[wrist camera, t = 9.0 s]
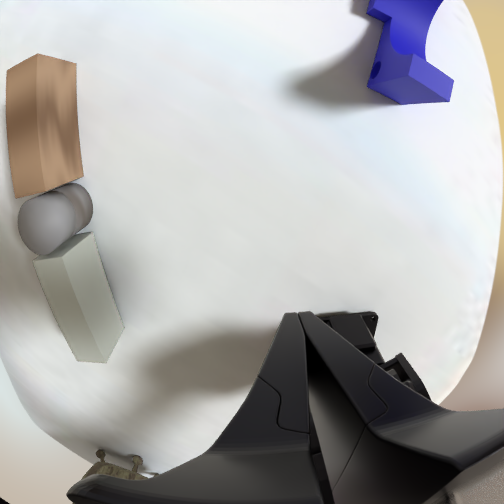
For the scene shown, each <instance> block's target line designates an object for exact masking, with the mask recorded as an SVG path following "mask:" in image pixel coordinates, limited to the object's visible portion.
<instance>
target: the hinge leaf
mask: <svg viewBox="0 0 504 504" xmlns="http://www.w3.org/2000/svg"><path fill="white" fill-rule="evenodd" d="M75 227H76V214H75V210H74V207H73V205H72V203H71V201H70V200H69V199H68V197H67V196H65V195H64V194H63V193H61V192H59V191H49V192H46V193H44V194H42V195H39V196H37V197H35V198H33V199H30V200H28V201H26V202H25V203H24V204H23V205H22V207H21V208H20V211H19V214H18V228H19V232H20V235H21V238H22V240H23V242H24V243H25V245H26V246H27V247H28V248H29V249H30V250H31V251H32V252H34V253H36V254H39V256H38V257H37V258H36V259H34V260H33V261H32V262H33V265H34V268H35V270H36V273H37V276H38V278H39V281H40V284H41V286H42V289H43V291H44V294H45V296H46V298H47V301H48V303H49V305H50V308H51V310H52V312H53V314H54V317H55V319H56V321H57V323H58V325H59V327H60V329H61V331H62V333H63V335H64V337H65V339H66V341H67V343H68V345H69V347H70V349H71V351H72V353H73V354H74V356H75V358H76V360H77V361H80V362H93V363H107V361H108V359H109V357H110V355H111V353H112V351H113V349H114V347H115V345H116V343H117V341H118V339H119V338H120V336H121V334H122V332H123V330H124V328H125V327H124V325H123V322H122V320H121V317H120V315H119V312H118V309H117V307H116V304H115V301H114V298H113V295H112V293H111V290H110V287H109V284H108V281H107V278H106V275H105V272H104V268H103V265H102V262H101V259H100V255H99V252H98V248H97V245H96V241H95V238H94V234H93V232H89V233H83V234H77V235H73V233H74V231H75ZM72 235H73V236H72ZM71 236H72V237H71ZM70 237H71V238H70Z"/></svg>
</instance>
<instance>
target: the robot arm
mask: <svg viewBox="0 0 504 504" xmlns="http://www.w3.org/2000/svg"><path fill="white" fill-rule="evenodd" d="M372 317H374V318H372ZM371 318H372V319H371ZM377 322H378V316H377V314H376V313H375V312H368V313H358V314H349V315H339V316H332V317H321V318H318V317H317V316H316V315H314V314H313V313H312V312H310V311H306V312H299V313H298V314H297V313H296V312H293V313H285V314H284V316H283V318H282V321H281V323H280V325H279V328H278V330H277V332H276V335H275V337H274V339H273V342H272V344H271V346H270V349H269V351H268V353H267V355H266V358H265V360H264V362H263V364H262V367H261V369H260V371H259V373H258V376H257V378H256V380H255V382H254V384H253V386H252V388H251V390H250V392H249V394H248V396H247V398H246V399H245V401H244V402H243V404H242V405H241V407H240V409H239V410H238V412H237V413H236V414H235V416H234V417H233V419H232V420H231V421H230V423H229V424H228V425H227V427H226V428H225V429H224V431H223V432H222V434H221V435H220V436H219V438H218V439H217V440H216V441H215V443H214V444H213V445H212V446H211V447H210V448H209V449H208V450H207V451H206V452H204V453H203V454H202V455H200V456H198V457H196V458H194V459H192V460H190V461H188V462H186V463H184V464H182V465H180V466H178V467H175V468H173V469H171V470H169V471H167V472H165V473H162V474H160V475H158V476H155V477H152V478H149V479H142V480H129V479H122V478H118V477H114V476H109V475H104V474H93V475H90V476H88V477H86V478H84V479H82V480H80V481H79V482H77V483H76V484H74V485H73V486H72V487H71V488H70V489H69V491H68V492H67V497H68V498H69V499H70V500H71V501H72V502H73V503H75V504H504V409H495V410H481V411H451V410H448V409H445V408H442V407H441V406H439V405H437V404H435V403H434V402H432V401H431V399H430V396H429V394H428V392H427V390H426V388H425V386H424V384H423V382H422V381H421V379H420V378H419V376H418V375H417V373H416V372H415V371H414V369H413V368H412V366H411V365H410V364H409V362H408V361H407V360H406V358H405V357H404V355H403V354H402V353H400V354H398V355H396V356H395V358H393V359H391V360H389V361H387V362H385V361H384V359H383V357H382V355H381V353H380V352H379V350H378V348H377V346H376V342H375V340H374V335H375V331H376V326H377ZM0 504H9V503H8V502H6V501H5V500H3V499H2V498H0Z"/></svg>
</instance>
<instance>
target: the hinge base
mask: <svg viewBox="0 0 504 504" xmlns="http://www.w3.org/2000/svg"><path fill="white" fill-rule="evenodd" d="M6 123H7V139H8V150H9V159H10V167H11V175H12V181H13V187H14V193H15V198H20V197H24V196H28V195H32V194H37V193H41V192H45V191H48V190H50V189H53V188H55V187H58V186H60V185H63V184H65V183H68V182H70V181H73V180H75V179H78V178H81V177H83V176H84V175H83V168H82V160H81V151H80V142H79V130H78V116H77V94H76V63H72V62H69V61H65V60H61V59H57V58H54V57H50V56H46V55H41V54H36V55H34V56H32V57H30V58H28V59H26V60H24V61H23V62H21V63H19V64H17V65H15V66H14V67H12V68H10V69H9V70H7V77H6ZM51 191H59V192H61V193H63V194H64V195H65V196H67V197H68V199H69V200H70V201H71V203H72V205H73V207H74V210H75V214H76V227H75V231H74V233H73V235H75V234H76V233H77V232H79V231H80V230H82V229H83V228H84V227H86V226H87V225H88V224H89V222H90V220H91V218H92V214H93V204H92V200H91V197H90V195H89V193H88V192H87V191H86V189H85V188H84V187H82V186H81V185H79V184H76V183H68V184H65V185H63V186H60V187H58V188H56V189H53V190H51ZM73 235H72V236H73ZM72 236H71V237H72ZM71 237H70V238H71Z"/></svg>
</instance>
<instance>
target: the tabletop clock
mask: <svg viewBox="0 0 504 504" xmlns="http://www.w3.org/2000/svg"><path fill="white" fill-rule="evenodd" d="M96 455H97V457H98V458H100V459H101V462H97V463H96V464H94V465H93V466H92V467H91V468H90V469H89V470H88V472H87V473H86V474H85V475H84V476H83V478H82V479H84V478H86V477H88V476H90V475H93V474H104V475H109V476H114V477H118V478H122V479H129V480H142V479H149V478H147V477H145V476H142V475H140V474H138V473H137V468H138V465H141V464H142V462H143V460H142V458H141V457H140V456H135V457H133V462H134V464H135V465H134V467H133V469H132V471H130V470H127V469H124V468H121V467H119V466H116V465H113V464H109V463H105V461H104V457H105V453H104V452H103V451H102V450H98V451H97V452H96ZM158 475H159V474H156V475H154V477H155V476H158ZM82 479H81V480H82ZM73 504H75V503H73Z"/></svg>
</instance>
